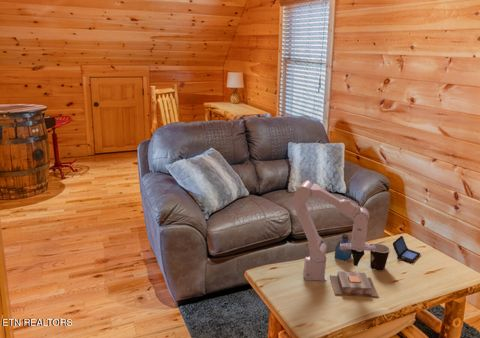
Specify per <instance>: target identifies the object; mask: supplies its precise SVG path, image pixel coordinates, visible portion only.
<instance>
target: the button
mask: <svg viewBox="0 0 480 338" xmlns="http://www.w3.org/2000/svg"><path fill="white" fill-rule="evenodd" d="M348 280H349V283H360V279H359V277H358V276H348Z"/></svg>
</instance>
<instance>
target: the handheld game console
mask: <svg viewBox="0 0 480 338" xmlns="http://www.w3.org/2000/svg"><path fill="white" fill-rule="evenodd" d="M392 247H393V249H394V251H395V254H396V257H397V258H396V259H397V260H401V261H403V262H405V263H409V264H413V263H415V261H416V260H417V259H418V258H419V257H420V256H421V253H420V252H418V251H415V250H412V249H410V248H409V247H408V246H407V244H406V241H405V239H404V237H403V235H400V236H399V237H398V238H397V239H396V240H395V241H393V242H392Z"/></svg>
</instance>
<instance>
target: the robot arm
mask: <svg viewBox="0 0 480 338" xmlns="http://www.w3.org/2000/svg"><path fill="white" fill-rule="evenodd" d="M293 195H294V196H293V197H294V198H293V204H292V205H293V208H294V211H295V212H296V215H297V218H298V220H299V223H300V226H301V227H302V230H303V232H304V234H305V237H306V239H307V242H308V250H309V256H304V263H303V275H304V279H305V280H307V281H322V282H326V281H327V276H326V268H327V256H326V253H327V251H328V243H326V241H324V240H323V237H322V236H320V234H319V233H318V230H317V228H316V225H315V223H314V220H313V218H312V216H311V213H310V211H309V209H308V206H307V202H308V201H309V200H310V199H311V200H317V199H319V200H322V201H324V202H326V203H329V204H330V205H331V206H332V205H333V206H334V207H335V208H336V210H337V212H339V213H341V214H343V215H344V216H346V217H348V218H350V219H351V220H353V225H352V232H351V240H350V242H351V243H344V244H340V250H343V249H350V250H351V253H352V255H351V257H352V261H353V262H352V264H353V266H354V267H358V264H359V262H360V261H361V259H362V258H363V256H365V251H373V252H375V249H376V247H375V246H374V245H370V244H367V243H366V240H367V234H368V222H369V218H370V211H369V210H368V209H367V208H366V207H364V206H359V205H356V204H354V203H353V202H352V201H351V200H350V199H345V198H343V199H340V198H338V197H337V196H335V195H333V194H332V193H330V192H328V191H327V190H326V189H324V188H322V187H321V186H320V185H319V184H317V183H315V182H313V181H312V180H309V179H307V180H304V181H303V182H302V183H301V184H300V185H299V187H298V188H297V189H296V190H295V192H294V194H293Z"/></svg>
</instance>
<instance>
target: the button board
mask: <svg viewBox="0 0 480 338" xmlns="http://www.w3.org/2000/svg"><path fill="white" fill-rule="evenodd" d="M348 276H358V277H359V279H360V283H349V280H348ZM329 278H330V282H331V286H332V288H333V289H332V290H333V293H334V296H346V297H363V298H379V297H380V295H379V294H378V292H377V289H376V287H375V285H374V283H373V280H372V278H371V277H368V276H367V274H366V272H357V271H355V272H354V271H337V275H329Z"/></svg>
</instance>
